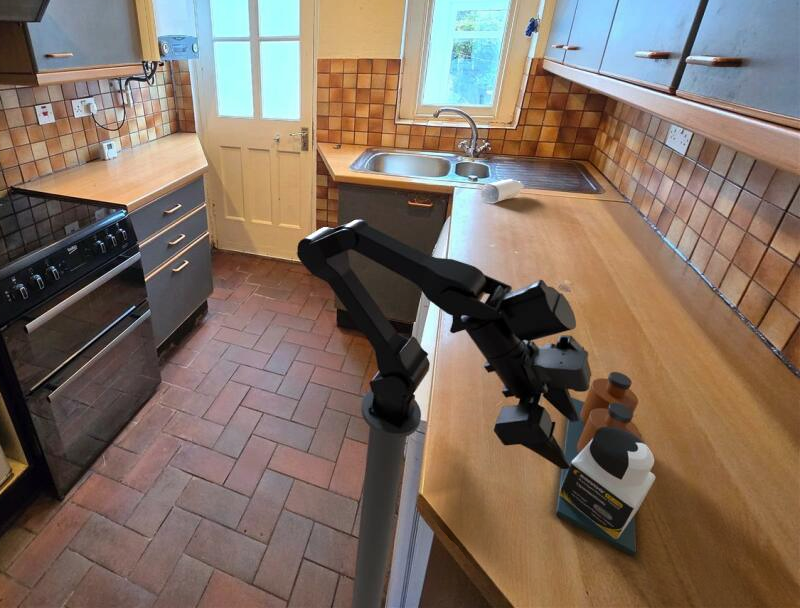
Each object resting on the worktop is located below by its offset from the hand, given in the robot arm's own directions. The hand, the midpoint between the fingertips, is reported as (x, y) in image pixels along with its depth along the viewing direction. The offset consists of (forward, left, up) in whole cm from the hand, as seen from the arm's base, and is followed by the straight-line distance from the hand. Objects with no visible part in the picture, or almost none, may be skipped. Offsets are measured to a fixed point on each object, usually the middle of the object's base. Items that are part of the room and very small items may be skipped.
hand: (571, 443), depth 56 cm
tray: (+5, +7, -9) cm, 12 cm away
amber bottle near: (+5, +8, -8) cm, 13 cm away
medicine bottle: (+5, 0, -8) cm, 9 cm away
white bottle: (-31, +123, -9) cm, 127 cm away
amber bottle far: (+5, +16, -8) cm, 18 cm away
